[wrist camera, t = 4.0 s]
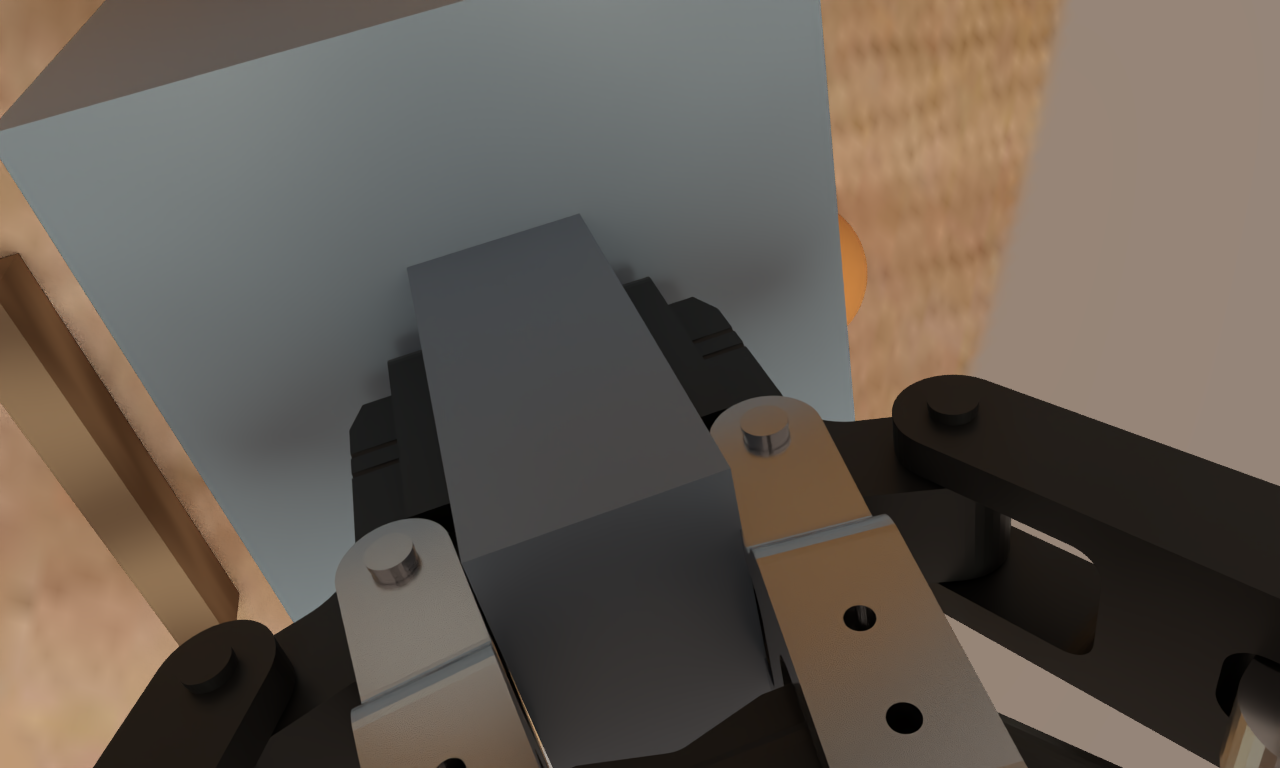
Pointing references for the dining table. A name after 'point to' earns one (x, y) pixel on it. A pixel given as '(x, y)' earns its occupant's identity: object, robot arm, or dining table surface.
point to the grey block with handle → (467, 294)
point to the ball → (852, 268)
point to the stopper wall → (104, 462)
